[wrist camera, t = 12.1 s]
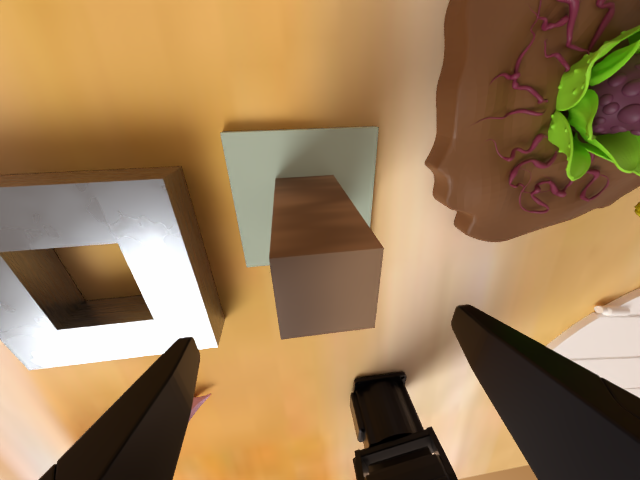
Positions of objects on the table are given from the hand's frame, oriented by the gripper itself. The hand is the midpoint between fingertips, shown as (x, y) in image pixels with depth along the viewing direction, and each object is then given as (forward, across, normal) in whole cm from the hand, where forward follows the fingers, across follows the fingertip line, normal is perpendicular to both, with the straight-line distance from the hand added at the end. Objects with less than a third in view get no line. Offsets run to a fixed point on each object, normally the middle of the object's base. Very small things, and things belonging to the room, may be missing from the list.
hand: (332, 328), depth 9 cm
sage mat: (+12, 0, 0) cm, 12 cm away
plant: (+13, -18, -7) cm, 23 cm away
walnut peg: (+11, 0, 0) cm, 11 cm away
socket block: (+12, +15, +4) cm, 19 cm away
